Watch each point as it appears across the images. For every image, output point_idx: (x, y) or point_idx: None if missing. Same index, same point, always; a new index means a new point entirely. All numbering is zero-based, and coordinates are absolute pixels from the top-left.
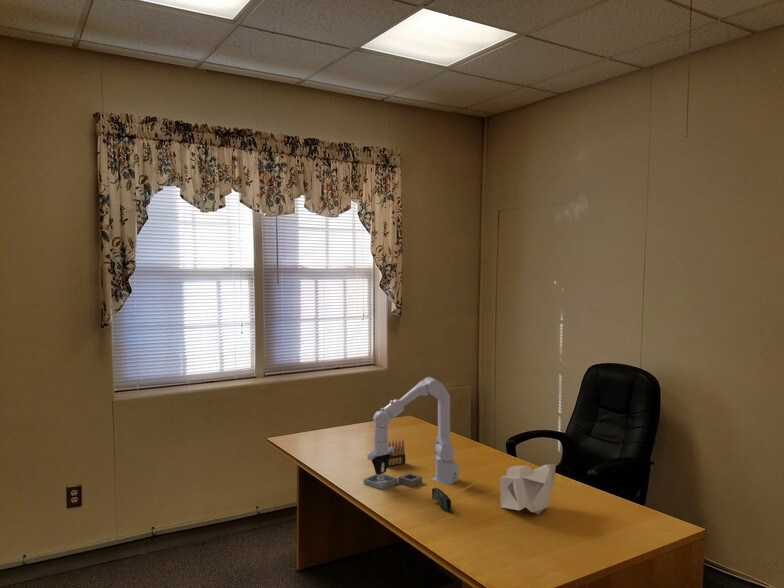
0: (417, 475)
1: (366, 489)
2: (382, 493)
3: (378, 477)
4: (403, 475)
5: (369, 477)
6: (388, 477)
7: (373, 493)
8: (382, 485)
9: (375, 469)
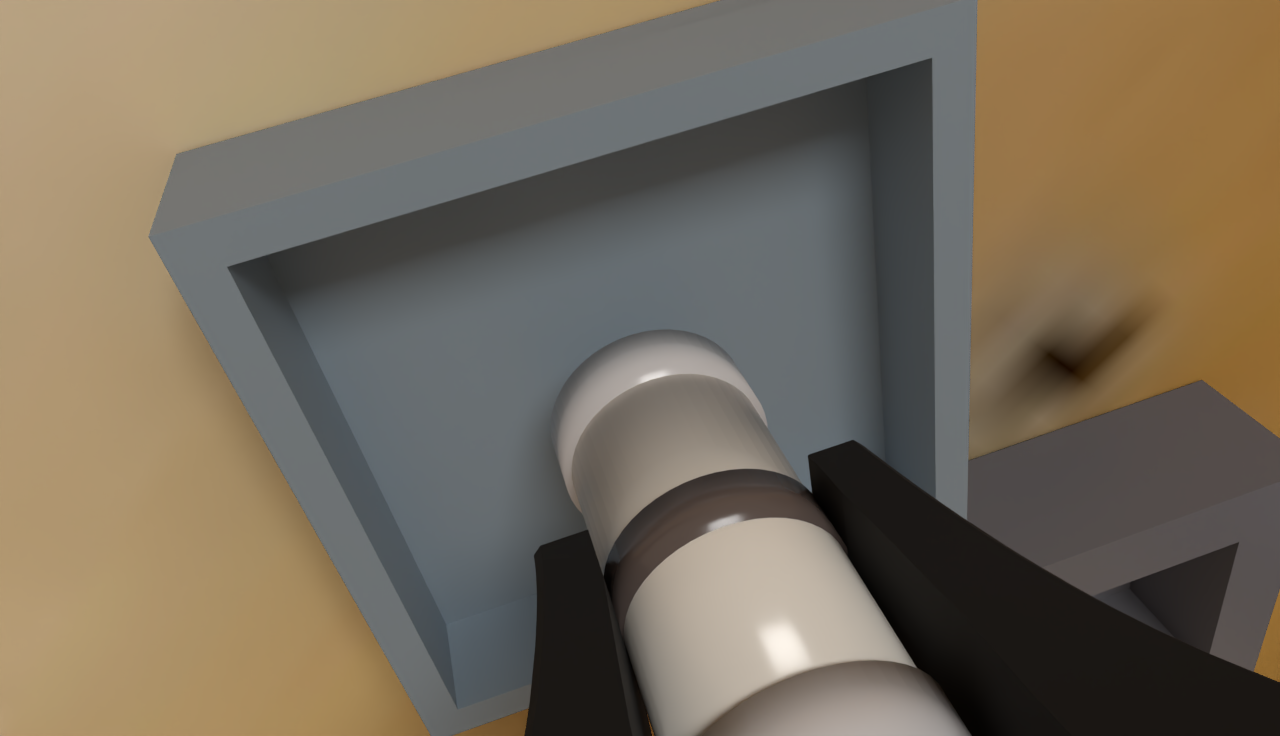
0: (1260, 625)
1: (123, 443)
2: (364, 710)
3: (580, 499)
4: (1125, 546)
5: (429, 205)
6: (917, 348)
7: (185, 667)
8: (443, 724)
9: (551, 674)
